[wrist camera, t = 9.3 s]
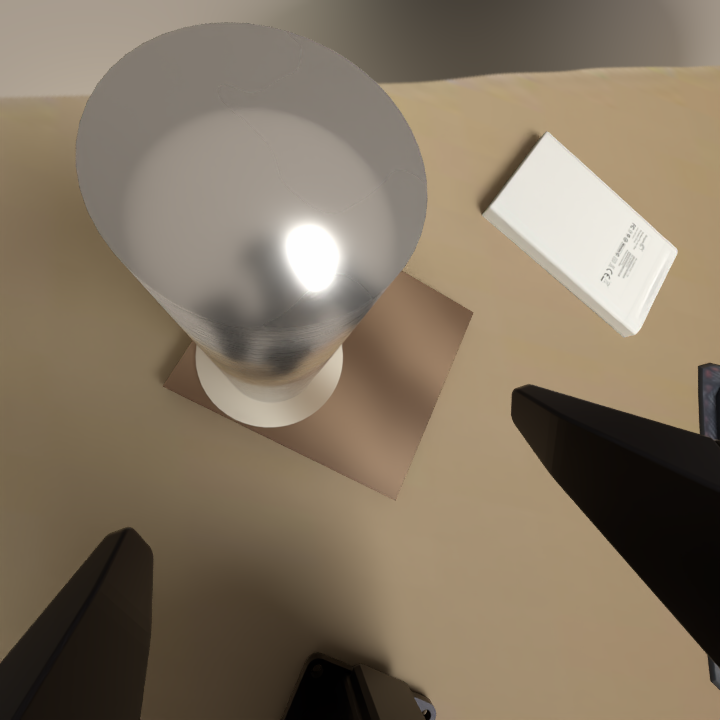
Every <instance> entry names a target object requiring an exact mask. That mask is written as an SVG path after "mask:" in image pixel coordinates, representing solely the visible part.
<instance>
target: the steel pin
mask: <svg viewBox="0 0 720 720" xmlns="http://www.w3.org/2000/svg"><path fill="white" fill-rule="evenodd" d="M76 169H77V175H78V181H79V187H80V191H81V193H82V196H83V199H84V202H85V205H86V208H87V211H88V213H89V215H90V217H91V219H92V220H93V222H94V224H95V226H96V228H97V230H98V232H99V233H100V235H101V236H102V238H103V239H104V240H105V242H106V243H107V245H108V246H109V247H110V249H111V250H112V251H113V253H114V254H115V255H116V256H117V257H118V258H119V259H120V261H121V262H122V263H123V264H124V265H125V266H126V267H127V268H128V269H129V270H130V272H131V273H132V274H133V275H134V276H135V277H136V278H137V279H138V280H139V282H140V283H141V284H142V285H143V286H144V287H145V288H146V289H147V290H148V291H149V293H150V294H151V295H152V296H153V297H154V298H155V299H156V300H157V301H158V302H159V304H160V305H161V306H162V307H163V308H164V309H165V310H166V311H167V312H168V314H169V315H170V316H171V317H172V318H173V319H174V320H175V321H176V322H177V323H178V325H179V326H180V327H181V328H182V329H183V330H184V331H185V332H186V333H187V334H188V336H189V337H190V338H191V339H192V340H193V341H194V342H195V343H196V344H197V345H198V347H199V348H200V349H201V350H202V351H203V352H204V353H205V354H206V355H207V357H208V358H209V359H210V360H211V361H212V362H213V363H214V364H215V365H216V366H217V368H218V369H219V370H220V371H221V372H222V373H223V374H224V375H225V376H226V377H227V379H228V380H229V381H230V382H231V383H232V384H233V385H234V386H235V387H236V388H237V389H238V390H239V391H240V392H241V393H242V394H244V395H246V396H247V397H249V398H251V399H254V400H257V401H260V402H267V403H275V402H282V401H286V400H288V399H291V398H293V397H295V396H297V395H298V394H300V393H301V392H302V391H303V390H305V389H306V388H307V386H308V385H309V384H310V383H311V382H312V380H313V379H314V378H315V377H316V375H317V374H318V373H319V372H320V371H321V369H322V368H323V367H324V366H325V364H326V363H327V362H328V361H329V359H330V358H331V357H332V356H333V354H334V353H335V352H336V351H337V350H338V348H339V347H340V346H341V345H342V343H343V342H344V341H345V340H346V338H347V337H348V336H349V335H350V334H351V332H352V331H353V330H354V329H355V327H356V326H357V325H358V324H359V322H360V321H361V320H362V319H363V318H364V316H365V315H366V314H367V313H368V311H369V310H370V309H371V308H372V306H373V305H374V304H375V303H376V301H377V300H378V299H379V298H380V297H381V295H382V294H383V293H384V292H385V290H386V289H387V288H388V287H389V285H390V284H391V283H392V282H393V281H394V279H395V278H396V277H397V276H398V274H399V273H400V272H401V271H402V269H403V268H404V267H405V265H406V264H407V262H408V260H409V259H410V257H411V255H412V254H413V252H414V250H415V248H416V246H417V243H418V241H419V238H420V236H421V233H422V229H423V225H424V221H425V217H426V208H427V180H426V174H425V168H424V163H423V160H422V156H421V153H420V150H419V146H418V144H417V142H416V140H415V137H414V135H413V133H412V130H411V128H410V127H409V125H408V123H407V122H406V120H405V118H404V116H403V115H402V113H401V112H400V110H399V109H398V108H397V106H396V105H395V104H394V102H393V101H392V100H391V98H390V97H389V96H388V95H387V94H386V93H385V92H384V90H383V89H382V88H381V87H380V86H379V85H378V84H377V83H376V82H375V81H374V80H373V79H372V78H370V77H369V76H368V75H367V74H366V73H365V72H364V71H363V70H361V69H360V68H359V67H357V66H356V65H354V64H353V63H352V62H350V61H349V60H348V59H346V58H345V57H343V56H341V55H340V54H338V53H336V52H335V51H333V50H331V49H330V48H328V47H326V46H324V45H321V44H319V43H317V42H315V41H313V40H311V39H309V38H306V37H303V36H300V35H297V34H294V33H292V32H289V31H285V30H281V29H277V28H273V27H268V26H262V25H255V24H249V23H228V22H225V23H210V24H201V25H195V26H190V27H185V28H181V29H178V30H175V31H171V32H168V33H165V34H162V35H160V36H158V37H156V38H153V39H151V40H149V41H147V42H145V43H143V44H141V45H140V46H138V47H137V48H135V49H134V50H132V51H131V52H129V53H127V54H126V55H125V56H124V57H123V58H121V59H120V60H119V61H118V62H117V63H116V64H115V65H114V66H113V67H111V68H110V69H109V71H108V72H107V73H106V74H105V75H104V77H103V78H102V79H101V80H100V82H99V83H98V84H97V86H96V87H95V89H94V91H93V93H92V94H91V96H90V98H89V100H88V101H87V103H86V106H85V109H84V112H83V114H82V117H81V120H80V123H79V129H78V135H77V140H76Z"/></svg>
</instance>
